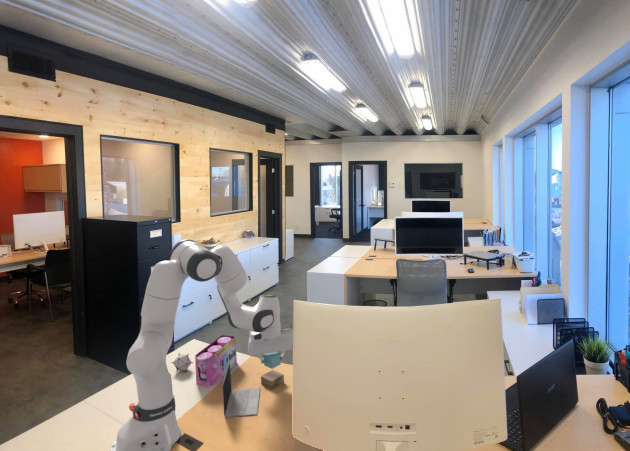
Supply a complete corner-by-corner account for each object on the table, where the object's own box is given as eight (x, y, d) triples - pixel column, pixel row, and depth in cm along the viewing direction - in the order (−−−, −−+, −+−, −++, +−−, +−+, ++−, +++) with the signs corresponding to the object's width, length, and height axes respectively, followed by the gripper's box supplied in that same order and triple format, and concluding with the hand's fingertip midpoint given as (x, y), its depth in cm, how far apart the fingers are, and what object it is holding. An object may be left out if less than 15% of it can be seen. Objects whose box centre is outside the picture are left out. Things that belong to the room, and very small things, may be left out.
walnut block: (272, 390, 163) (271, 381, 162) (261, 384, 167) (260, 376, 167) (284, 383, 168) (283, 374, 167) (273, 378, 172) (272, 369, 172)
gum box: (209, 389, 165) (207, 359, 163) (194, 386, 167) (191, 357, 165) (237, 362, 187) (235, 336, 185) (223, 360, 190) (221, 334, 188)
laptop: (257, 415, 146) (255, 383, 144) (223, 418, 145) (221, 386, 143) (260, 389, 163) (258, 360, 162) (230, 391, 162) (228, 362, 161)
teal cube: (272, 368, 163) (271, 357, 162) (264, 365, 166) (263, 354, 165) (280, 364, 166) (280, 353, 166) (272, 360, 170) (272, 350, 169)
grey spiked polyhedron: (180, 377, 182) (172, 357, 185) (197, 368, 184) (189, 349, 187) (174, 377, 174) (167, 356, 177) (192, 367, 176) (184, 347, 179)
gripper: (292, 324, 170) (294, 354, 172) (246, 331, 164) (248, 361, 166) (295, 330, 164) (297, 360, 166) (247, 337, 158) (249, 368, 160)
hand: (272, 361), depth 166 cm, fingers closed on teal cube, 7 cm apart
